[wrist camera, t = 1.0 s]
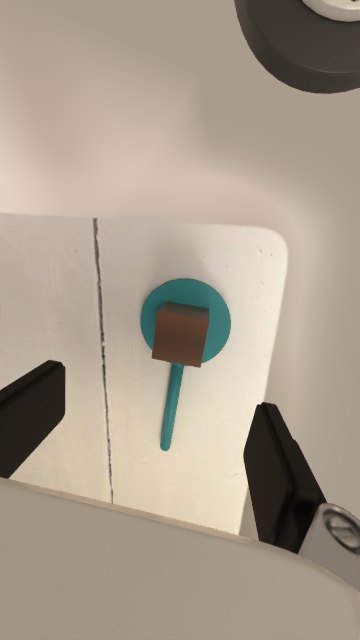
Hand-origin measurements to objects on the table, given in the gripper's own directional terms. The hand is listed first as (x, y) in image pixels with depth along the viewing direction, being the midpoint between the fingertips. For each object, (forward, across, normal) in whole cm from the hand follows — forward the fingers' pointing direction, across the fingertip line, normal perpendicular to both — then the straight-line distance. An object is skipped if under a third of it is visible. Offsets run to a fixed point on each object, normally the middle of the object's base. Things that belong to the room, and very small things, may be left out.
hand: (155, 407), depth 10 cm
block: (+12, 0, -1) cm, 12 cm away
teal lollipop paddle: (+13, 0, +5) cm, 14 cm away
